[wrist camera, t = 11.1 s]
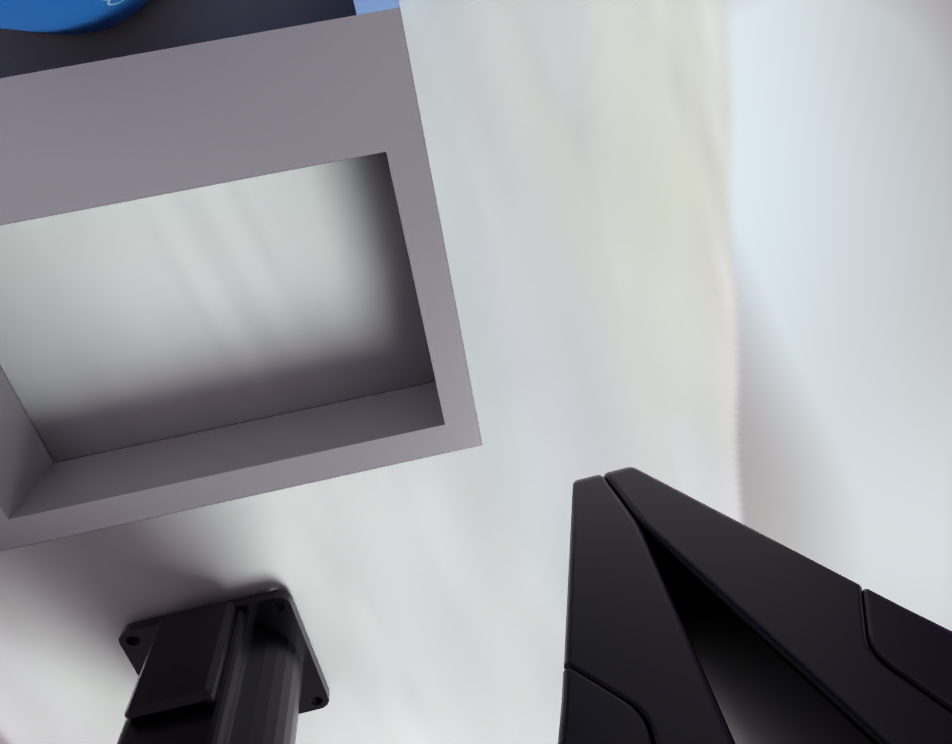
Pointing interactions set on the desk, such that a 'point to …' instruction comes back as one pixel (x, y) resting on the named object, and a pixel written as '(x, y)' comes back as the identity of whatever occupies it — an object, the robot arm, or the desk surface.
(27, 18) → the beverage can
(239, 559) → the desk surface
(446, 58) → the desk surface
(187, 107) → the slot holder
